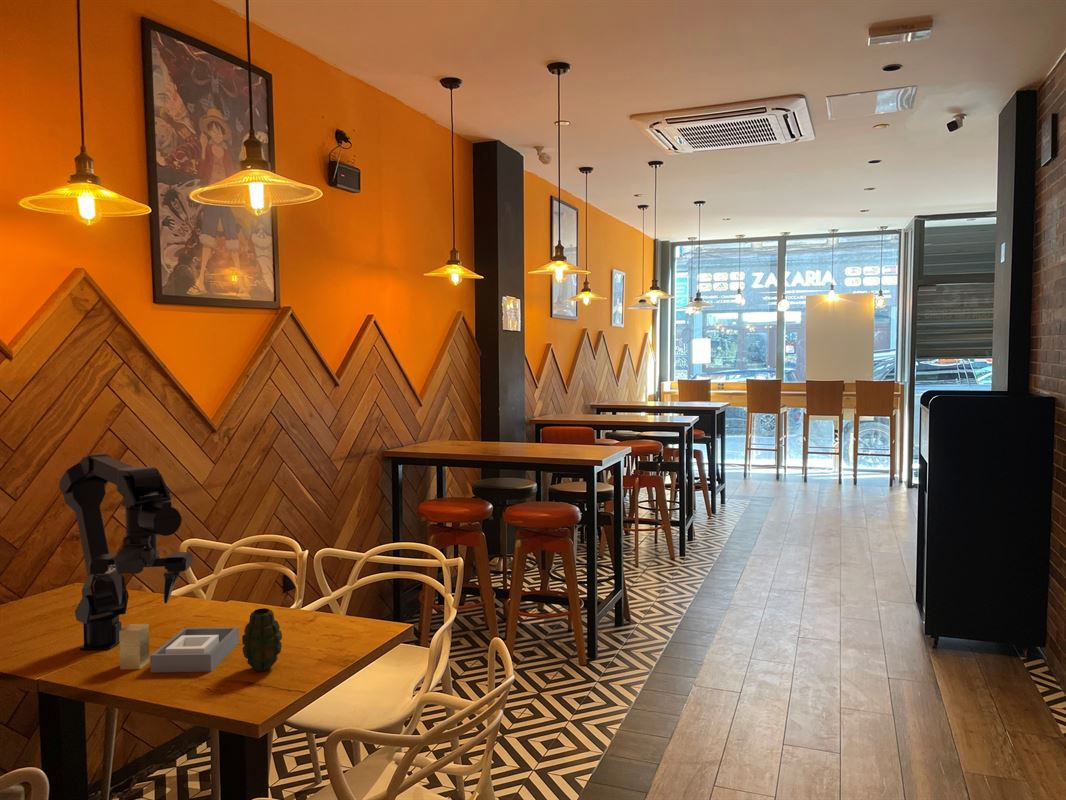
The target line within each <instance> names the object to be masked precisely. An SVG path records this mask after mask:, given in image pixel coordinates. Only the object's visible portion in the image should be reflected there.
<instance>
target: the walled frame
mask: <svg viewBox="0 0 1066 800" xmlns="http://www.w3.org/2000/svg"><path fill="white" fill-rule="evenodd" d="M238 644H240V627H239V626H235V627H234V626H232V627H229V626H227V627H226V626H225V627H224V626H223V627H184V628H183V629H181V630H180V631H179V632H177V633H176V634H175V635H174V636H172V637H171V638H170V639H169V640H167V641H166V642H165V643H164V644H163V645H161V646H160V647H158V649H156V650H155V651H154V652H153V653H151V654H149V660H150V662H149V663H150V664H149V665H150V674H151V673H202V672H203V673H204V672H206V673H207V672H209V673H210V672H212V671H213V670H214V669H215V668H217V666H218V665H219V664H220V663H221V662H222V661H223V660H224V659H225V658H226V657H227V656H228V655H229V654H230V653H231V652H232V651H233V650H234V649H235V648H236V647H237V646H238Z"/></svg>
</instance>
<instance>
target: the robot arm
mask: <svg viewBox="0 0 1066 800" xmlns="http://www.w3.org/2000/svg"><path fill="white" fill-rule="evenodd" d="M108 483H111V484H114V485H115V486H116V491H117V492H118V493H119V495H121V496H122V497H123V500H122V502H121V504H120V505H121V506H122V507H125V509H124V510H125V512H124V513H125V536H123V540H122V542H123V543H122V546H121V549H120V550H119V551H118V552H117V553H110V551H109V546H108V541H107V535H106V530H105V526H104V521H103V515H102V514H103V513H102V510H101V504H102V503H103V501H104V498H105V496H106V494H107V492H106V486H107V485H108ZM58 485H59V491H60V493H61V494H62V496H63V500H64V503H65V504H66V505H67V506H68V507H69V508H70V509H71V510H73V512H75V516H76V522H77V527H78V532H79V538H80V543H81V548H82V553H83V557H84V564H85V569H86V575H87V577H86V579H85V581H84V584H83V586H82V588H81V596H82V598H81V599H80V601H79V603H78V605H77V607H76V608H75V610H74V614H75V615H74V616H75V621H78V622H80V623H82V626H83V627H82V629H83V644H82V645H81V646H79V650H85V651H86V650H110V649H112V648H113V647H114V646H116V645H117V644H120V640H119V631H120V630H121V629H123V627H122V621H120V615H125V614H126V612H127V608H128V602H129V591H128V590H127V587H126V583H125V577H124V574H132V575H138V574H140V573H142V572H143V571H144V568H151V567H152V568H155V567H156V568H158V567H164V569H165V570H166V571H165V572H163V576H164V592H163V601H164V604H168V603H169V600H170V597H171V595H172V593H173V590H174V587H175V585H176V582H177V580H178V577H179V576H180V575H181V574H182V573H183V572H185V571H187V570H188V569H190V568H191V567H192V566H193V565H194V555H193V554H192V553H191V551H176V552H175V551H173V552H171V553H170V554H169V555H168V556H165V557H164V556H163V557H161V556H160V557H159V555H160V549H158V536H162V537H163V536H165V537H169V536H170V535H171V536H172V535H174V534H175V533H176V532H177V531H178V530H179V529H180V527H181V524H182V516H181V513H180V512H179V510H178V509H177V508H175V507H173V506H172V501H171V500H172V498H171V495H170V493H171V492H170V489H169V487H168V486H167V483H166V482H165V480H164V477H163V475H162V474H161V472H160V471H159V469H158V468H157V467H154V466H132V465H131V464H129V463H126V462H124V461H122V460H119V459H116V458H113V457H112V456H111V455H110V454H107V453H96V454H87V455H85V456H83V457H82V458H81V459H80V461H79V462H77V463H76V464H73V466H71V467H68V468H67V469H66V470H65V472H64V474H63V475H62V476H61V478H60V479H59V484H58Z"/></svg>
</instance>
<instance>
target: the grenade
mask: <svg viewBox="0 0 1066 800" xmlns="http://www.w3.org/2000/svg"><path fill="white" fill-rule="evenodd" d="M248 620H249V622H248V623H247V624H246V625H245V627H244V630H243V633H244V634H243V635H242V637H241V640H242V642H241V644H242V645H243V647H242V654H243V657H244V658H246V659H247V662H246V663H247V664H248V665H249V666H250V667H251V668H253V670H255V671H256V672H266V671H268V670H270V669H271V668H272V666H273V665H274V664H275V663H276V662H277V661H278V659H279V658H278V655H280V654H281V652H282V647H283V645H282V642H281V640H282V639H283V633H282V631H281V630H280V627H281V626H280V624H279V622H278V621H277V620H276V619H275V615H274V612H273V610H270V608H266V607H264V608H263V607H262V608H257V609H255V610H254V611H252V612H251V613H250V615H249V619H248Z"/></svg>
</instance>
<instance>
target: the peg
mask: <svg viewBox="0 0 1066 800" xmlns="http://www.w3.org/2000/svg"><path fill="white" fill-rule="evenodd" d="M149 625H150V624H149V623H129V624H126V626H124V627H122V629H121V630H120V631H119V640H120V642H119V669H120V670H141V669H142V668H144V667H145V666H146V665H147V664H149V663H150V630H149V629H150V627H149Z"/></svg>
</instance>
